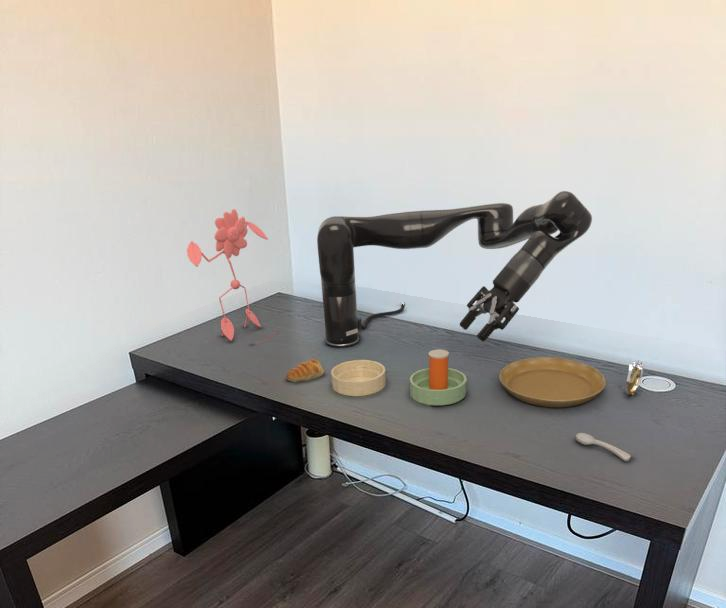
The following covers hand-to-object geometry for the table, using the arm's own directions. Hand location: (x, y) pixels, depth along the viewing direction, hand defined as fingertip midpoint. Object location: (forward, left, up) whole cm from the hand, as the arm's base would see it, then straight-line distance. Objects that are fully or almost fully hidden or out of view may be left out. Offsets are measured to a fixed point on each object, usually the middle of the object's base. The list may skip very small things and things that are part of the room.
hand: (470, 333), depth 157 cm
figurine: (-20, -70, -14) cm, 74 cm away
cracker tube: (+5, -6, -13) cm, 16 cm away
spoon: (+22, +32, -14) cm, 41 cm away
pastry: (+3, -41, -14) cm, 44 cm away
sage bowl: (+5, -6, -14) cm, 16 cm away
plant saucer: (-4, +19, -14) cm, 24 cm away
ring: (-6, +37, -14) cm, 40 cm away
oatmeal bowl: (+5, -26, -14) cm, 30 cm away
